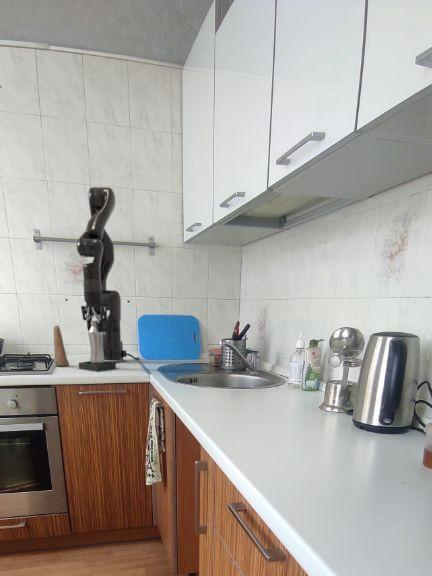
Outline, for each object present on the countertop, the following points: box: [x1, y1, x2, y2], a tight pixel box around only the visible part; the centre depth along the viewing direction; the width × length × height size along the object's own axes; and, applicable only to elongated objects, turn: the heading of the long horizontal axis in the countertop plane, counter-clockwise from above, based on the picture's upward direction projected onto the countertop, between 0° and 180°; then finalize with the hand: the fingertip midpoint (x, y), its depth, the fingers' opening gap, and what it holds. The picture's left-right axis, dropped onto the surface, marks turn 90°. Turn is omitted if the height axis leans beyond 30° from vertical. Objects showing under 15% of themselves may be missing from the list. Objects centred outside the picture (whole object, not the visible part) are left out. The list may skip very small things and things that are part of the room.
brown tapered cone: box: [53, 325, 70, 367], centre depth 213 cm, size 6×18×6 cm
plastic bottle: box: [87, 320, 105, 365], centre depth 208 cm, size 6×7×20 cm
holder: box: [78, 360, 117, 372], centre depth 212 cm, size 12×12×3 cm
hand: (95, 331), depth 206 cm, fingers closed on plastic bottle, 6 cm apart
